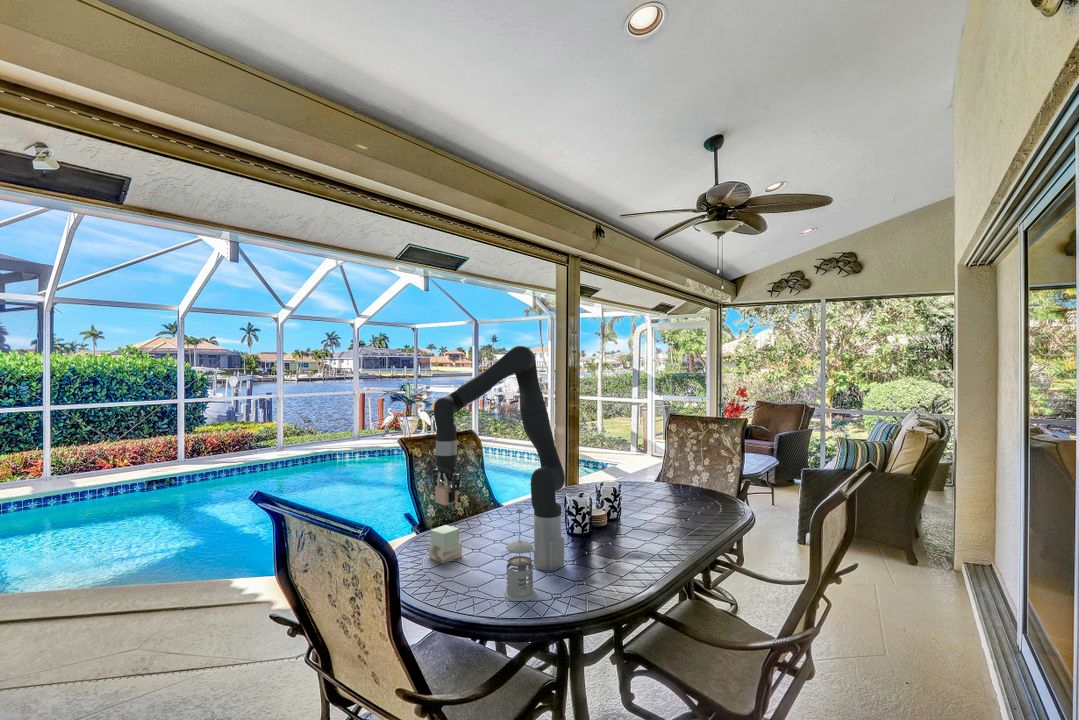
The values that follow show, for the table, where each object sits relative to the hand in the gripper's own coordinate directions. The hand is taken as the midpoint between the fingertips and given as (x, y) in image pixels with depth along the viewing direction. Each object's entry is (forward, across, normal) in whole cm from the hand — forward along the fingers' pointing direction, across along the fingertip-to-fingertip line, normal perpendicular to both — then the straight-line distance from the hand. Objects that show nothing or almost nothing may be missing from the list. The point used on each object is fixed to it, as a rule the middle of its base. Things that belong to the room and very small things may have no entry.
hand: (446, 500), depth 173 cm
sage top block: (+15, 0, +1) cm, 15 cm away
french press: (+20, -39, +2) cm, 44 cm away
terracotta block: (+1, 0, 0) cm, 1 cm away
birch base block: (+20, 0, 0) cm, 20 cm away
